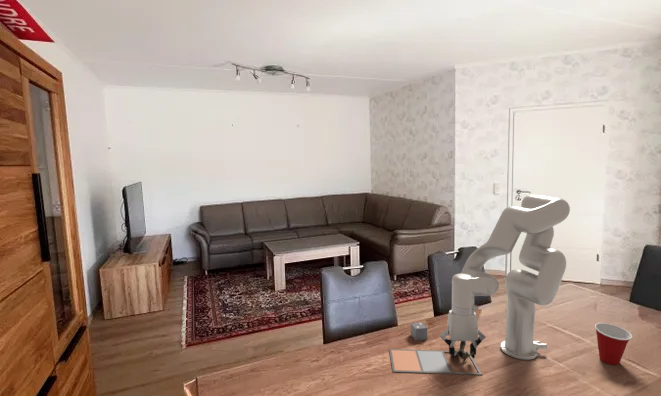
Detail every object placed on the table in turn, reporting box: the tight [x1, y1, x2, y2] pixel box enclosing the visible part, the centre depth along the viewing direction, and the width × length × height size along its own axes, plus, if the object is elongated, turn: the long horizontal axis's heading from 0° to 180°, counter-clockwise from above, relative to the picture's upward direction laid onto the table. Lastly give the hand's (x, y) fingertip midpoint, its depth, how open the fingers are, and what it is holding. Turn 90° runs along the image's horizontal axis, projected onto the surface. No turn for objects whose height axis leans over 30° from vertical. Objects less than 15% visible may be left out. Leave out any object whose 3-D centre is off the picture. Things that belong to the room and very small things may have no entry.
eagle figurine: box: [454, 341, 474, 365], centre depth 134 cm, size 8×7×9 cm
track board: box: [388, 348, 483, 376], centre depth 133 cm, size 30×15×1 cm, turn 86°
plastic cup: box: [594, 322, 633, 366], centre depth 132 cm, size 11×11×12 cm
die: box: [410, 321, 428, 341], centre depth 151 cm, size 5×5×5 cm
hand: (462, 355), depth 132 cm, fingers closed on eagle figurine, 6 cm apart
